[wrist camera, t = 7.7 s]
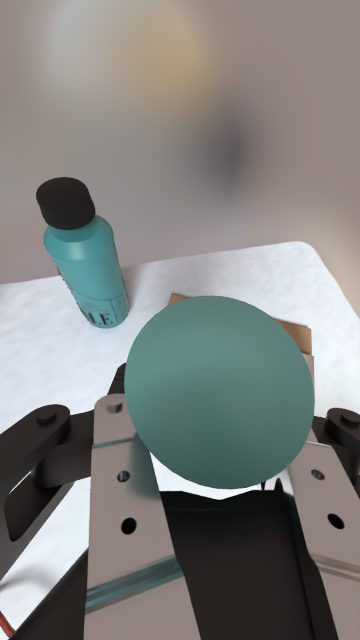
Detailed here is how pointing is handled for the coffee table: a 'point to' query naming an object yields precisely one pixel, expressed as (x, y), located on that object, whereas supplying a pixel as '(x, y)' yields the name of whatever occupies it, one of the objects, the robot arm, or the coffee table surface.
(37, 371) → the coffee table surface
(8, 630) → the sunglasses
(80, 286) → the beverage bottle
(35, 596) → the coffee table surface
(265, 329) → the grey capped container
